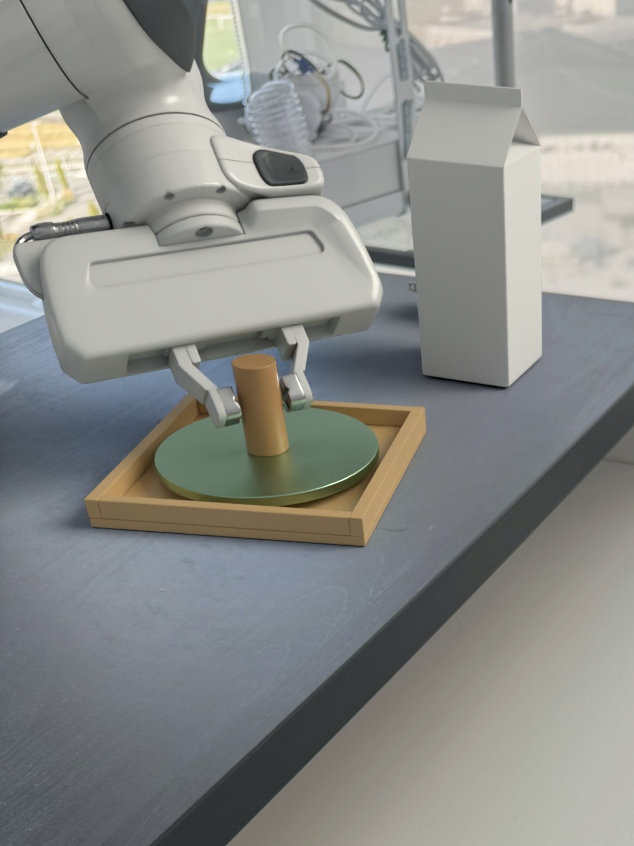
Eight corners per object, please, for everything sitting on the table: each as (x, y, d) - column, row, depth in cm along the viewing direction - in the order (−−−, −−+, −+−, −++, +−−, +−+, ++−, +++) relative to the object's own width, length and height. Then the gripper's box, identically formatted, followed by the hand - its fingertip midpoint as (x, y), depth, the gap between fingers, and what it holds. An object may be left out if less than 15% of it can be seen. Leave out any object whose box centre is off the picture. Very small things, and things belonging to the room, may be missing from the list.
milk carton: (509, 390, 87) (501, 97, 75) (422, 377, 88) (401, 88, 76) (542, 358, 92) (540, 80, 80) (459, 346, 94) (445, 72, 81)
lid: (122, 509, 70) (93, 397, 65) (205, 418, 80) (185, 317, 76) (348, 525, 69) (333, 412, 64) (402, 431, 79) (393, 329, 75)
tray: (91, 527, 69) (83, 499, 68) (194, 417, 82) (189, 392, 81) (365, 546, 68) (362, 518, 67) (426, 432, 81) (424, 406, 79)
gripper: (-2, 195, 64) (95, 427, 64) (340, 155, 73) (425, 358, 73) (2, 260, 70) (92, 474, 70) (320, 215, 79) (398, 404, 79)
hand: (265, 414), depth 72 cm, fingers open, 3 cm apart
